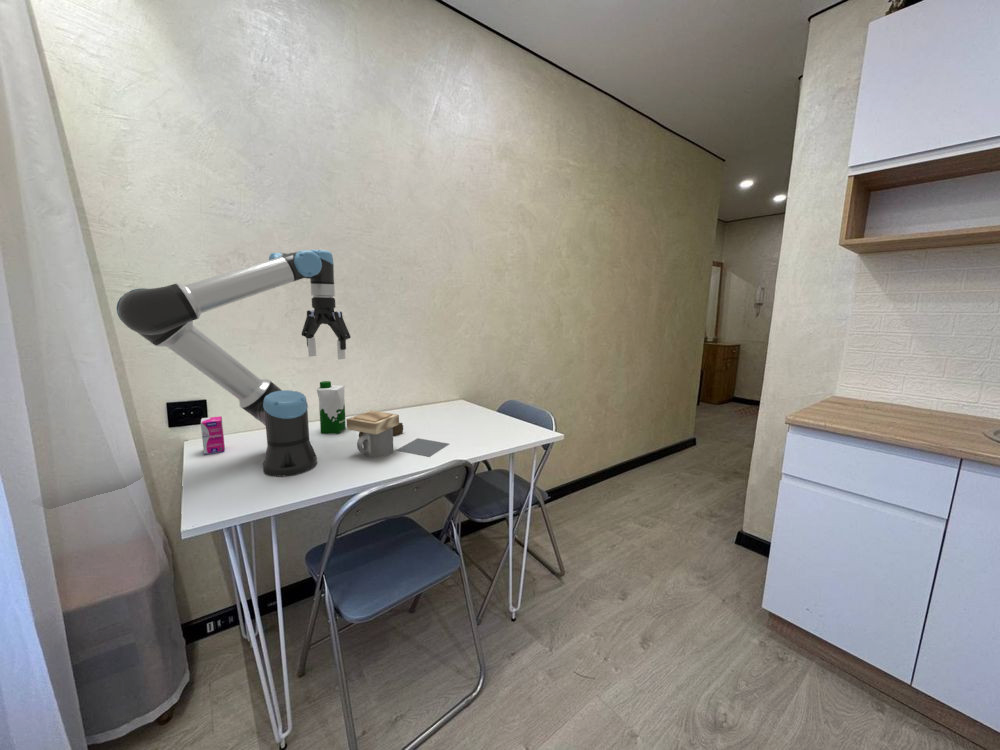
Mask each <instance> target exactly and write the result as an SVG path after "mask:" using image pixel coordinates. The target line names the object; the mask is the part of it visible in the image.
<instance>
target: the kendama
mask: <svg viewBox="0 0 1000 750" xmlns="http://www.w3.org/2000/svg"><path fill="white" fill-rule="evenodd" d="M403 424H404V423H403V422H399V425H397V426H394V427H393V437H394V436H395V437H396V436H399V435H401V434H403V432H404V425H403ZM362 435H363V432H359V431H358V438H359V437H361V436H362Z"/></svg>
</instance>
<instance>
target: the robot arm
mask: <svg viewBox="0 0 1000 750" xmlns="http://www.w3.org/2000/svg"><path fill="white" fill-rule="evenodd" d="M334 270H335V269H334V258H333V253H332V252H330V251H329V250H324V249H310V250H305V249H303V250H299V251H296V252H295V251H294V252H290V253H283V252H272V253H270V255H269V257H268V260H265V261H262V262H259V263H256V264H252V265H248V266H245V267H241V268H239V269H235V270H232V271H230V272H225V273H222V274H218V275H216V276H215V275H214V276H211V277H208V278H204V279H202V280H198V281H194V282H191V283H188V284H184V285H183V284H180V283H173V284H169V285H166V286H161V287H154V288H153V287H152V288H145V287H144V288H143V287H142V288H135V289H131V290H129V291H128V292H125V293H124V294H123V295H122V296H121V297H120V298H119V299H118V301H117V303H116V314H117V315H118V318H119V320H120V321H121V322H122V323H123V324H124V326H126V327H127V328H129V329H130V330H131V331H134V332H136V333H137V334H138V335H140V336H141V337H142V338H144V339H145V340H147V341H148V342H150V343H151V344H152V345H153V346H155V347H166V348H168V349H169V350H171V351H172V352H173V353H174V354H176V355H177V356H179V357H181V358H182V359H183V360H185V361H186V362H187V363H188V364H189V365H191V366H193V367H194V368H195V369H196V370H198V371H200V372H201V373H202V374H203V375H205V376H207V378H209V379H211V380H212V381H213V382H214V383H215V384H217V385H218V386H220V387H222V389H225V391H227V392H228V393H229V394H231V395H232V396H234V397H235V398H236V399H238V401H239V407H240V408H241V409H243V410H244V411H245V412H247V413H248V414H250V415H251V416H252V417H254V419H256V420H257V421H259V422H260V423H261V424H263V425H264V426H265V432H266V433H265V434H266V444H267V445H266V446H267V447H266V451H265V455H264V460H263V462H262V472H263V474H265V475H267V476H270V477H290V476H294V475H299V474H303V473H305V472H308V471H309V470H312V469H314V468H315V467H316V466H317V464H318V459H317V458H318V457H317V454H316V453H315V450H314V448H313V445H312V443H311V440H310V429H309V412H308V408H309V406H308V401H307V398H306V395H305V394H304V393H302V392H300V391H297V390H287V389H286V390H284V389H283V390H282V389H281V388H280V387H278V386H277V385H276V384H275V383H274V382H272V381H271V380H270V379H268V378H267V379H262V378H260V377H258V376H257V375H256V374H254V373H253V372H252V371H251V370H250V369H248V368H247V367H246V366H244V365H243V364H242V363H241V362H240V361H238V360H237V359H236V358H234V357H233V356H232V355H230V353H228V352H227V351H226V350H225V349H223V348H222V347H221V346H220V345H218V344H217V343H216V342H215V341H213V340H212V339H211V338H209V337H208V336H207V335H205V334H204V333H203V332H202V331H200V330H199V329H198V328H197V327H196V326H194V324H193V321H195V320H198V319H200V316H201V314H203V313H205V312H209V311H211V310H214V309H215V310H216V309H217V308H220V307H223V306H226V305H229V304H233V303H235V302H238V301H242V300H244V299H246V298H249V297H252V296H253V297H254V296H255V295H258V294H261V293H264V292H267V291H269V290H273V289H276V288H278V287H281V286H285V285H287V284H290V283H293V282H296V281H299V280H303V279H308V280H309V279H310V295H311V296H312V297H311V308H313V310H311V309H310V310H309V309H308V310H306V319H305V321H304V324H303V327H302V331H301V336H302V337H304V338H306V345H307V349H308V350H307V351H308V357H309V358H310V357H317V346H316V344H317V343H316V337H315V335H316V333H317V332H318V329H319V328H320V326H321V325H322V324H323V325H328V326H329V327H330V329H331V331H332V332H333V333H334V335H335V336H336V338H337V341H336V346H337V348H336V349H337V350H336V351H337V360H345V359H346V350H347V340H349V339H351V334H350V331H349V330H348V327H347V325H346V322H345V320H344V318H343V317H344V316H343V312H342V311H339V310H338V311H335V308H336V307H337V305H336V299H335V296H336V294H335V293H336V291H335V271H334ZM311 468H312V469H311ZM302 472H303V473H302Z"/></svg>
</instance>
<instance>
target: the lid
mask: <svg viewBox="0 0 1000 750" xmlns="http://www.w3.org/2000/svg"><path fill="white" fill-rule="evenodd" d="M345 422H346V430H348V431H353V432H358V433H359V432H364V433H370V434H375V435H376V434H379V433H381V432H383V431H385V430H388V429H390V428H392V427H394V426H397V425H399V423H400V415H399V414H396V413H391V412H384V411H377V410H368V411H365V412H363V413H360V414H356V415H354V416H352V417H349V418H345Z"/></svg>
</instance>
